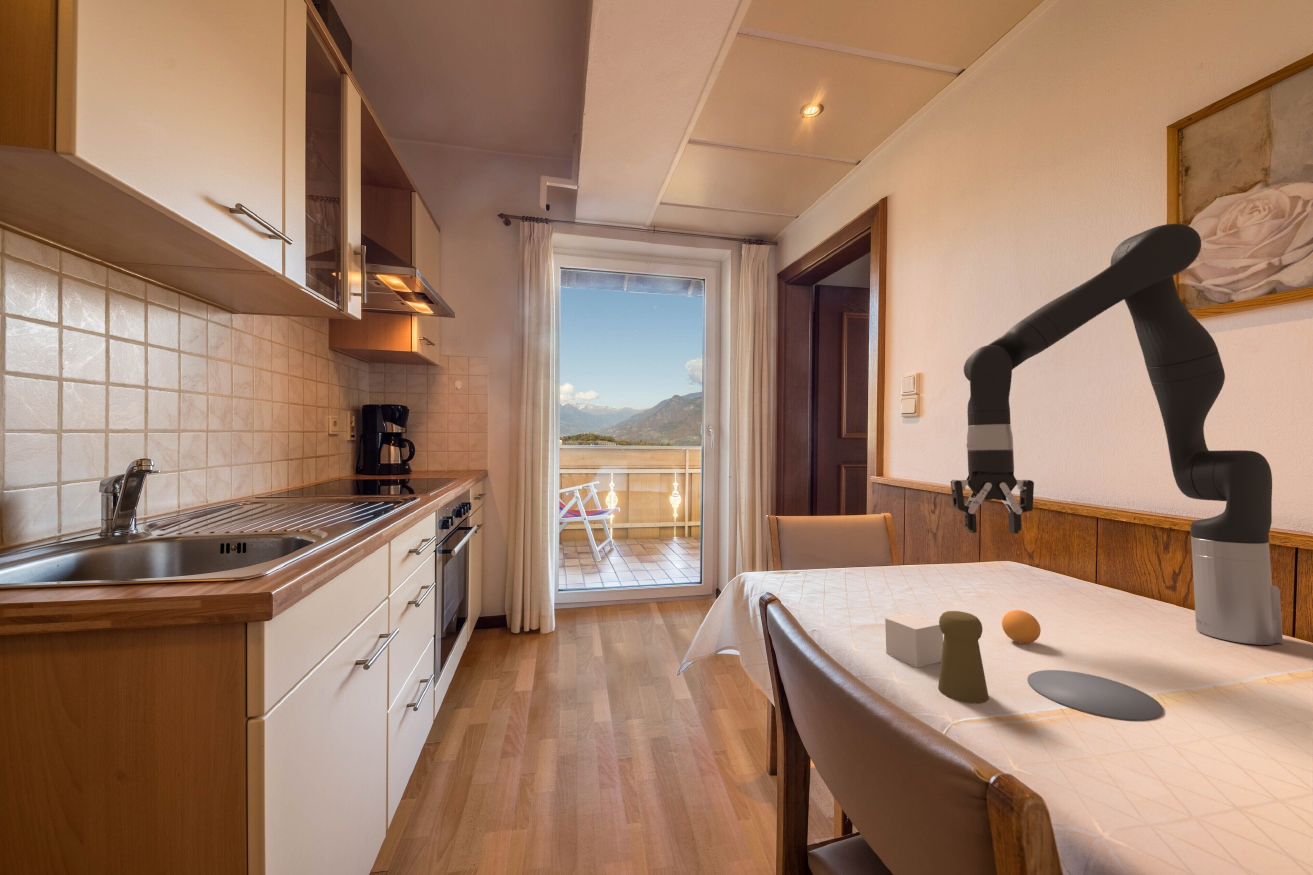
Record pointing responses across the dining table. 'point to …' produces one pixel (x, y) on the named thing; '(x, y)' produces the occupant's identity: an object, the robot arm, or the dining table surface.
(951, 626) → the cork
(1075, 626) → the dining table surface
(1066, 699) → the disc
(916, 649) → the grey cube
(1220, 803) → the dining table surface
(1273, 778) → the dining table surface
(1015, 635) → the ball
